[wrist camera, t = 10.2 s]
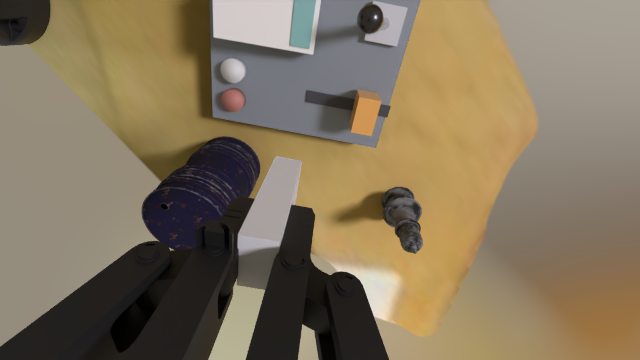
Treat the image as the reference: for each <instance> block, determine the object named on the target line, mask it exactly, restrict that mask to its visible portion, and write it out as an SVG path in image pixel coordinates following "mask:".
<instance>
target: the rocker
mask: <svg viewBox="0 0 640 360" xmlns="http://www.w3.org/2000/svg"><path fill="white" fill-rule="evenodd" d="M320 5H321V0H213V37H215V38H221V39H226V40H232V41H238V42H243V43H249V44H255V45H260V46H266V47H272V48H278V49H283V50H289V51H295V52H300V53H306V54H312V55H313V53H314V46H315V39H316V32H317V25H318V18H319V12H320Z"/></svg>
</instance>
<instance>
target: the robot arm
mask: <svg viewBox="0 0 640 360" xmlns="http://www.w3.org/2000/svg"><path fill="white" fill-rule="evenodd" d="M49 17H50V1H49V0H0V45H1V46H3V45H5V46H6V45H22V44H28V43H31V42H33V41H35V40H37V39H38V38H39V37H41V35H42V34H43V33H44V32H45V30H46V28H47V25H48V22H49ZM301 164H302V161H301V160H295V159H290V158H284V157H278V156H276V157H275V159H274V161H273V163H272V165H271V167H270V169H269V171H268V173H267V175H266V177H265V179H264V181H263V184H262V186H261V188H260V190H259V192H258V194H257V196H256V198H255V199H252V198H246V197H241V196H239V197H237V198H236V199H234V200H233V201H231V202H230V204H229V206H228V207H227V210H226V211H225V212H224V214H223V216H222V217H221V219H220V220H210V221H205V222H203V223H201V224H199V225H198V226H197V227H196V228H195V238H196V247H194V248H191V249H185V250H174V251H170V249H169V247H168V245H166V244H165V243H163V242H158V241H149V242H145V243H142V244H139V245H137V246H135V247H134V248H132V249H131V250H129V251H128V252H126V253H125V254H124V255H122V256H121V257H120V258H119V259H117V260H116V261H114V262H113V263H112V264H110V265H109V266H108V267H106V268H105V269H104V270H102V271H101V272H100V273H98V274H97V275H96V276H95V277H93V278H92V279H91V280H89V281H88V282H87V283H85V284H84V285H82V286H81V287H80V288H78V289H77V290H76V291H74V292H73V293H72V294H70V295H69V296H68V297H66V298H65V299H64V300H62V301H61V302H59V303H58V304H57V305H56V306H54V307H53V308H51V309H50V310H49V311H48V312H46V313H45V314H43V315H42V316H41V317H39V318H38V319H37V320H35V321H34V322H33V323H31V324H30V325H29V326H27V327H26V328H25V329H24V330H22V331H21V332H19V333H18V334H17V335H15V336H14V337H13V338H11V339H10V340H9V341H7V342H6V343H5V344H3V345H2V346H1V347H0V360H208V358H209V356H210V353H211V351H212V348H213V346H214V343H215V340H216V338H217V335H218V333H219V330H220V327H221V325H222V322H223V320H224V317H225V315H226V312H227V310H228V307H229V304H230V302H231V299H232V295H233V286H234V283H235V281H236V279H237V285H240V286H246V287H252V288H258V289H264V290H265V293H264V297H263V300H262V304H261V308H260V311H259V315H258V318H257V322H256V325H255V329H254V332H253V336H252V340H251V343H250V346H249V350H248V354H247V357H246V360H298V352H299V345H300V338H301V330H302V324H303V325H305V326H307V327H309V328H310V329H312V330H314V331H315V338H316V345H317V351H318V358H319V360H389V358H388V355H387V353H386V350H385V347H384V344H383V341H382V339H381V336H380V333H379V330H378V327H377V324H376V321H375V319H374V316H373V313H372V310H371V307H370V305H369V302H368V299H367V296H366V293H365V290H364V288H363V285H362V284H361V282H360V280H359V279H358V278H356V277H355V276H354V275H352V274H350V273H348V272H336V273H333V274H332V275H328V274H326V273H324V272H322V271H321V270H319V269H318V268H317V267H315V266H314V264H313V263H312V261H311V258H310V252H311V244H312V236H313V229H314V221H315V214H314V212H313V210H312V208H307V207H302V206H296V205H295V202H296V197H297V190H298V184H299V177H300V171H301Z"/></svg>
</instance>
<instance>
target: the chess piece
mask: <svg viewBox="0 0 640 360" xmlns="http://www.w3.org/2000/svg"><path fill="white" fill-rule="evenodd" d="M382 205H383V207H384V210H383V218H384V220H385V222H386V223H387V224H388V225H390V226H392V227H395V234H396V235H397V236H398V237H399V239H400V242H401V246H402V248H403V249H404V250H405V251H407V252H411V253H415V254H416V253H417V251H419V250H420V249H421V247H422V246H423V240H422V237H421V235H420V229H421V228H420V224H419V223H418V222H417V221H418V220H419V219H420V217H421V214H422V208H421V206H420V204H419V203H418V202H417V201H416V200H414V195H413V193H412V192H411V191H410V190H409V189H407V188H404V187H395V188H392V189H390V190H388V191H387V192H386V193H385V194H384V196H383V198H382Z"/></svg>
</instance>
